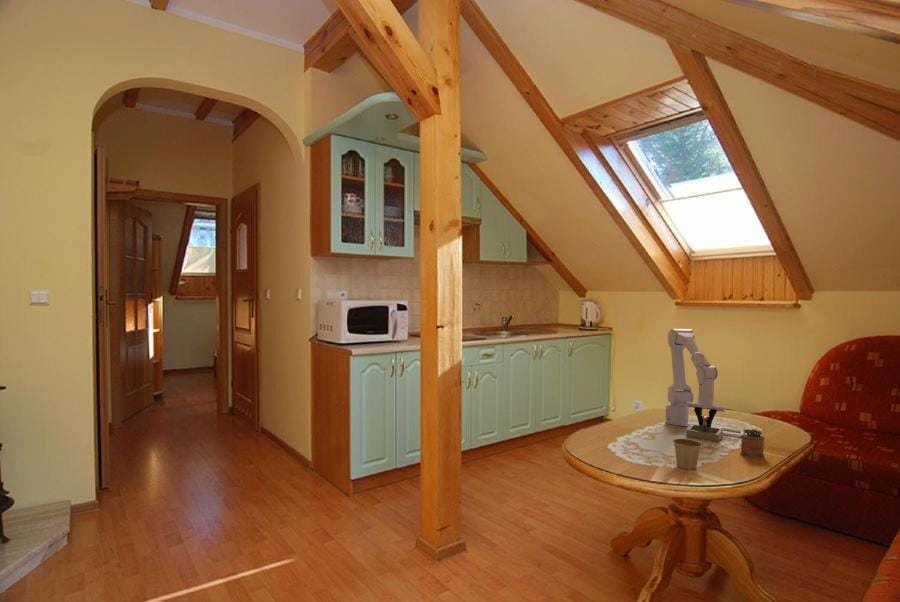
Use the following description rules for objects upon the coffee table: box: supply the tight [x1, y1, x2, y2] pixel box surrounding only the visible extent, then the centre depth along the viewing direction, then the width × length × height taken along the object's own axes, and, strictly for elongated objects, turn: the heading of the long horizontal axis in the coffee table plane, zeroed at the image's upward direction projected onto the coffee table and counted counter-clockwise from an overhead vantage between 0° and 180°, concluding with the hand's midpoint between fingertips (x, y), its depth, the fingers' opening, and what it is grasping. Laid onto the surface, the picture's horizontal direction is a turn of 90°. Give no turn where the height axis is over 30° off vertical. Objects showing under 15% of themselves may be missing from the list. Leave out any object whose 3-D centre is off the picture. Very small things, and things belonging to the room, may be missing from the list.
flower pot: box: [672, 438, 703, 471], centre depth 178 cm, size 9×9×9 cm
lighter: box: [740, 428, 766, 458], centre depth 192 cm, size 8×3×10 cm, turn 84°
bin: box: [686, 423, 724, 443], centre depth 217 cm, size 12×12×3 cm
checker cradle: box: [718, 426, 745, 439], centre depth 223 cm, size 10×10×1 cm
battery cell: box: [701, 415, 709, 432], centre depth 217 cm, size 3×3×6 cm
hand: (704, 426), depth 217 cm, fingers closed on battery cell, 3 cm apart
